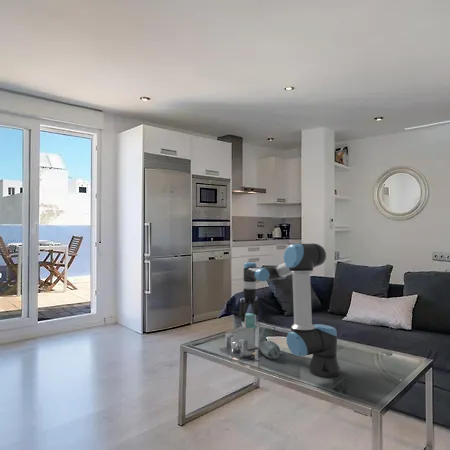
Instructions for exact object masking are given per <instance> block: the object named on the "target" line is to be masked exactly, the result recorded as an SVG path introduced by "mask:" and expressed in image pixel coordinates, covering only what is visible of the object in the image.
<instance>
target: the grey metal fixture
mask: <svg viewBox="0 0 450 450" xmlns="http://www.w3.org/2000/svg"><path fill="white" fill-rule="evenodd" d="M224 334H225V338H224V343H225V344H224V347H220V348H219V349H218V350H219V351H220V352H223V353H225V354H227V355H229V356H231V357H233V358H235V359H236V360H237V359H238V360H239V359H243V358H246V357H248V358H249V357H251V356H254V353H253V352H251V351H250V350H248V344H249V343H248V342H249V341H248V339H246V338H240V339H238V340H233V341H232V338H234V334H233V333H230V332H228V333H224ZM240 346H242V348H241V347H240Z"/></svg>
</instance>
